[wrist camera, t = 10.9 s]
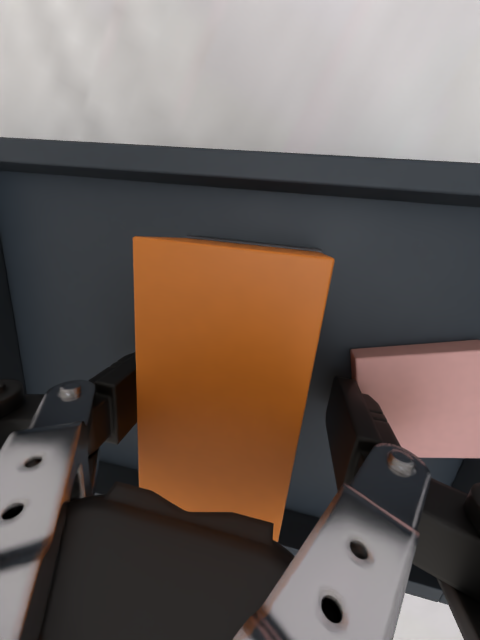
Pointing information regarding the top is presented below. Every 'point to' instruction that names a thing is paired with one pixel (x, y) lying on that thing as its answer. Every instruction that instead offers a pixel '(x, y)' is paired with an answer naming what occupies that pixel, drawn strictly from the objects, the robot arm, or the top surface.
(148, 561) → the robot arm
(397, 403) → the pink block
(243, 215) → the tray
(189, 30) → the top surface
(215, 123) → the top surface
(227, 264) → the orange rectangular block
